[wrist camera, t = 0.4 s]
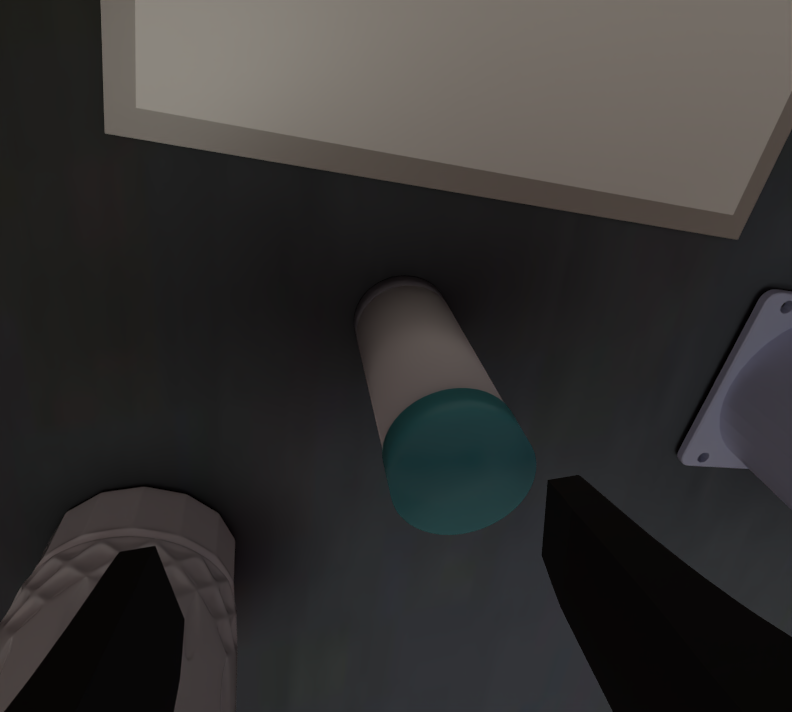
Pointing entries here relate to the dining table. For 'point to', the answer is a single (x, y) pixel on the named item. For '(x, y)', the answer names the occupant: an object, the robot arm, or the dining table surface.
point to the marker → (438, 413)
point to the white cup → (91, 556)
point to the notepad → (474, 95)
